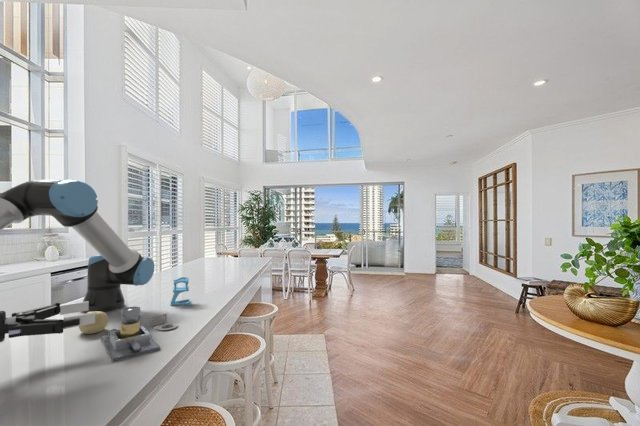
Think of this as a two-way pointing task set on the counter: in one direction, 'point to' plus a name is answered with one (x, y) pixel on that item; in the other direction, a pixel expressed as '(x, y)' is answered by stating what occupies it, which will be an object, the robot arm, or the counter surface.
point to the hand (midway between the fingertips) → (91, 311)
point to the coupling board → (129, 344)
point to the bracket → (159, 320)
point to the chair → (180, 291)
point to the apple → (98, 325)
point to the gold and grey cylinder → (130, 322)
